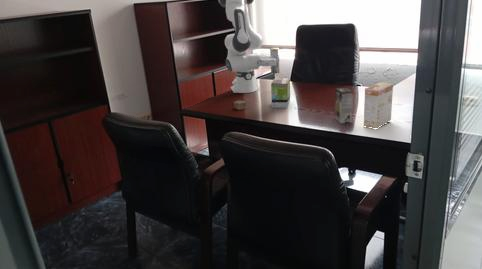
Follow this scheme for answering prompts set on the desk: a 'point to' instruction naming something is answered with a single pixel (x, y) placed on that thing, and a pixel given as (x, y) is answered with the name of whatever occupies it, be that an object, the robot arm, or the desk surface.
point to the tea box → (280, 92)
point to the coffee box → (343, 105)
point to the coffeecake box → (378, 104)
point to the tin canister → (274, 54)
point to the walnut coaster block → (240, 105)
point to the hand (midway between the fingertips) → (276, 58)
